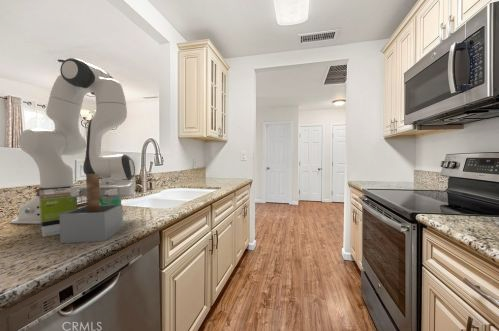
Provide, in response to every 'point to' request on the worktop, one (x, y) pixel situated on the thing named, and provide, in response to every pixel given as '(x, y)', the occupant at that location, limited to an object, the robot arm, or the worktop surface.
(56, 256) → the worktop surface
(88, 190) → the brown wooden post
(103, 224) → the gray open-top rectangular bin
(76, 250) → the worktop surface
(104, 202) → the food container
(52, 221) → the tea box
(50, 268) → the worktop surface
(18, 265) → the worktop surface
